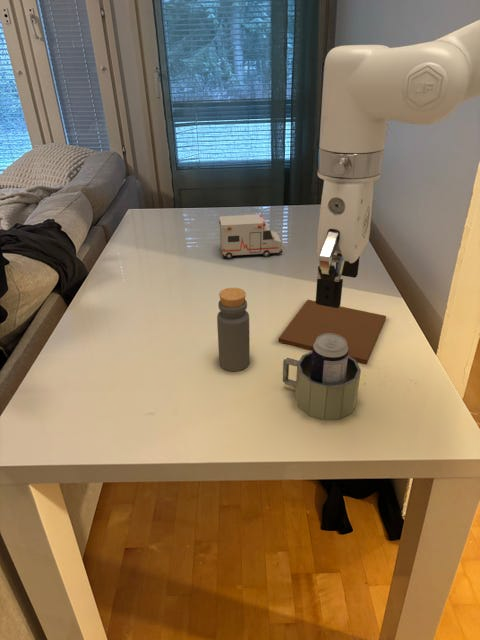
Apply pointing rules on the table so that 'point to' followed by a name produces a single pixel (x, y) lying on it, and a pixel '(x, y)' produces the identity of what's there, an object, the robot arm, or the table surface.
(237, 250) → the toy vehicle
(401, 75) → the robot arm
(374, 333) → the mat
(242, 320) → the bottle
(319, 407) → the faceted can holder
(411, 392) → the table surface
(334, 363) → the beverage can
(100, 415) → the table surface
